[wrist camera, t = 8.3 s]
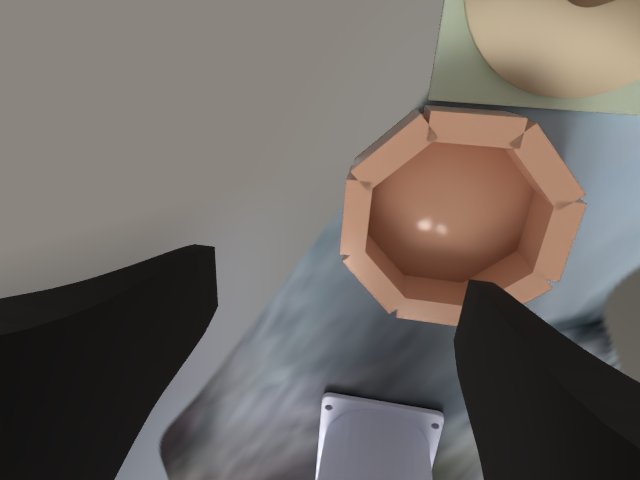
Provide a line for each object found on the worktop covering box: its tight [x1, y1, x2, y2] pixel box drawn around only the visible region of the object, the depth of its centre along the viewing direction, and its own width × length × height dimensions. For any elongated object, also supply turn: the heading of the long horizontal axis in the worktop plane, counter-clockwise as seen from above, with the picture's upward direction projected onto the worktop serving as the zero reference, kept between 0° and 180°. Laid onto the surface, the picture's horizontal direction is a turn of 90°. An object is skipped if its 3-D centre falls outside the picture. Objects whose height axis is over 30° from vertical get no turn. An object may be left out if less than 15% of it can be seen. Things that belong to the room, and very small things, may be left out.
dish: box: [340, 105, 587, 326], centre depth 19 cm, size 10×10×3 cm
